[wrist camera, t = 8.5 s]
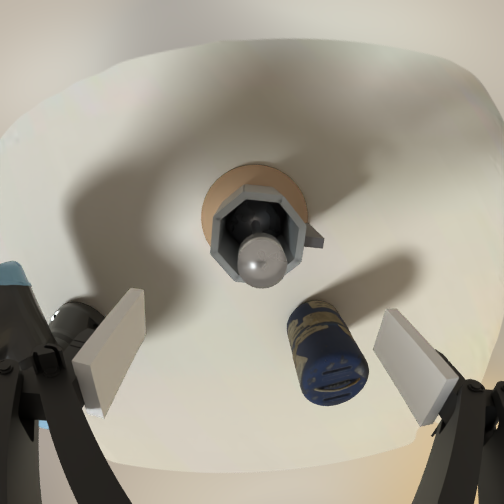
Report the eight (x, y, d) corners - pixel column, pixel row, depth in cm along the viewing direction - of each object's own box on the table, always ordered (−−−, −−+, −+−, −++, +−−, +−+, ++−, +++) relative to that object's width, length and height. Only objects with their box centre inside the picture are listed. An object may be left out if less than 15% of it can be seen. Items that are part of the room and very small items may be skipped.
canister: (289, 295, 50) (309, 360, 32) (343, 298, 50) (383, 358, 33) (282, 343, 52) (296, 416, 35) (332, 344, 53) (362, 412, 35)
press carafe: (198, 262, 48) (181, 300, 34) (206, 160, 43) (189, 158, 30) (298, 271, 48) (317, 311, 35) (312, 171, 44) (341, 175, 30)
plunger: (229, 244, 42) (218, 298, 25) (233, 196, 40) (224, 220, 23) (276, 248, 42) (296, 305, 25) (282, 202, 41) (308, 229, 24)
